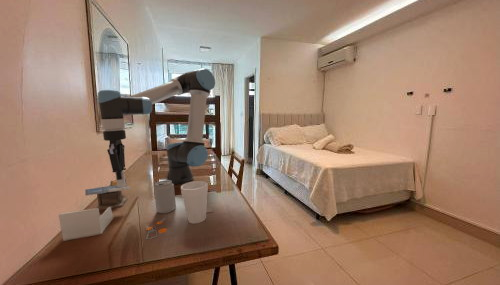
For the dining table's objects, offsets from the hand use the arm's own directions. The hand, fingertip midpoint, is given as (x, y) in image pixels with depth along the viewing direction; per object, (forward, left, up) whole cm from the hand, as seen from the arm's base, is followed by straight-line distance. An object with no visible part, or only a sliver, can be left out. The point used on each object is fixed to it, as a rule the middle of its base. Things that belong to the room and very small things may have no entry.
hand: (121, 186), depth 86 cm
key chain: (-23, +12, -11) cm, 28 cm away
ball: (+14, -12, -4) cm, 19 cm away
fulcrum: (+10, -4, -10) cm, 15 cm away
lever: (+7, -5, -4) cm, 9 cm away
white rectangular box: (+1, +15, -10) cm, 18 cm away
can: (-19, -1, -11) cm, 22 cm away
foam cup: (-35, +5, -11) cm, 37 cm away
